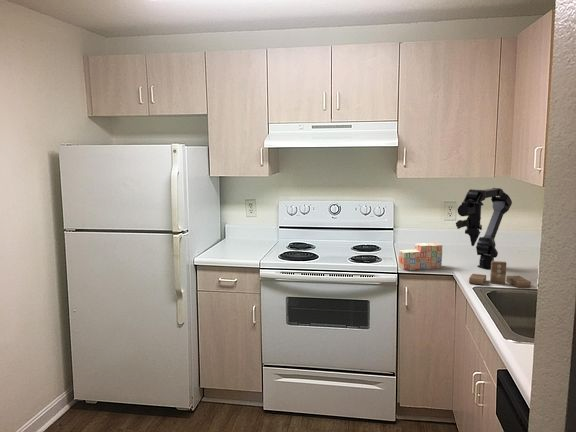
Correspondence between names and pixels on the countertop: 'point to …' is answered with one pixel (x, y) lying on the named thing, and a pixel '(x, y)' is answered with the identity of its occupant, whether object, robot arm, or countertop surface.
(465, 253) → the countertop surface
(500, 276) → the light brown wooden block
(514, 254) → the countertop surface
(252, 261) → the countertop surface
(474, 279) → the wooden block
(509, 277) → the tile two
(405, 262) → the stack of blocks
